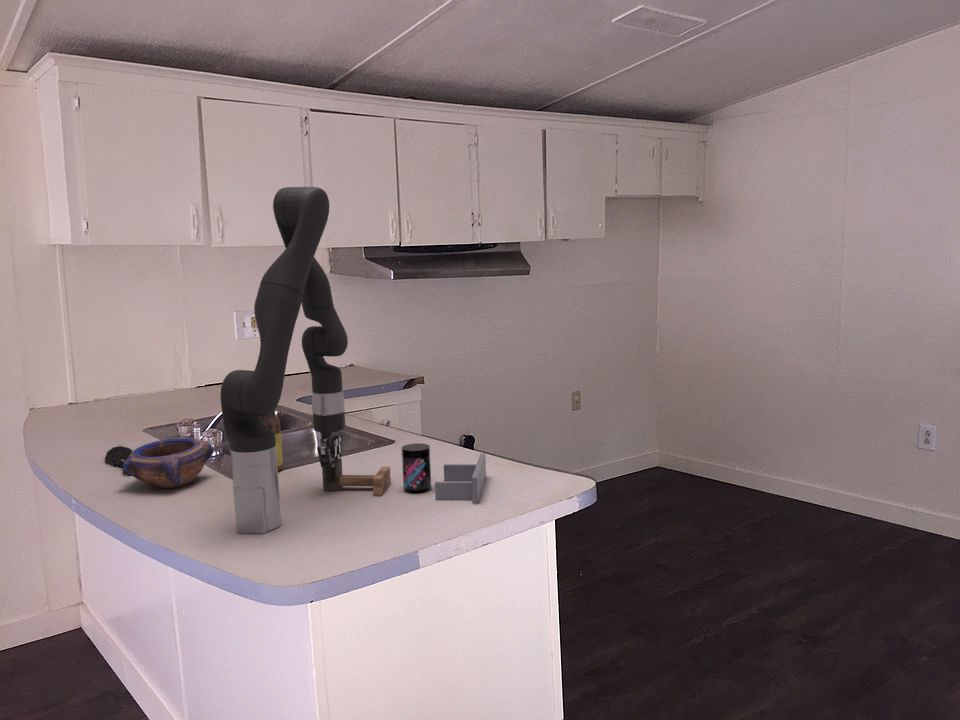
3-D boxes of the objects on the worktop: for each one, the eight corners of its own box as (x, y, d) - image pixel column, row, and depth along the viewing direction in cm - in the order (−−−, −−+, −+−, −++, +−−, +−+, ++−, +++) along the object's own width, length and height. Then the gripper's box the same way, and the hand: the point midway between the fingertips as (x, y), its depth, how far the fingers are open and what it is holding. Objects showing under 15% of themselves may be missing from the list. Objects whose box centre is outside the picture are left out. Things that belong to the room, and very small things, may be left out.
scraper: (381, 495, 188) (380, 466, 187) (318, 494, 189) (317, 466, 188) (390, 482, 198) (389, 454, 197) (330, 482, 199) (329, 454, 198)
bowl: (115, 491, 197) (111, 452, 196) (167, 471, 214) (163, 434, 212) (174, 497, 191) (171, 457, 190) (223, 476, 208) (220, 438, 206)
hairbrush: (114, 470, 207) (101, 445, 228) (115, 484, 208) (102, 458, 229) (148, 465, 211) (133, 441, 232) (150, 478, 212) (134, 453, 233)
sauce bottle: (257, 469, 213) (251, 395, 210) (281, 466, 215) (276, 393, 212) (260, 475, 207) (255, 399, 204) (285, 472, 209) (280, 397, 206)
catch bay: (477, 503, 181) (477, 477, 180) (433, 503, 182) (432, 477, 181) (486, 476, 200) (485, 453, 199) (446, 476, 201) (445, 453, 200)
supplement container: (397, 489, 192) (395, 447, 191) (420, 483, 197) (418, 441, 195) (414, 495, 187) (412, 452, 186) (437, 489, 192) (435, 446, 190)
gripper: (321, 404, 198) (325, 471, 201) (303, 416, 185) (308, 489, 187) (351, 403, 198) (355, 471, 200) (335, 416, 184) (340, 489, 187)
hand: (332, 480), depth 194 cm, fingers closed on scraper, 3 cm apart
